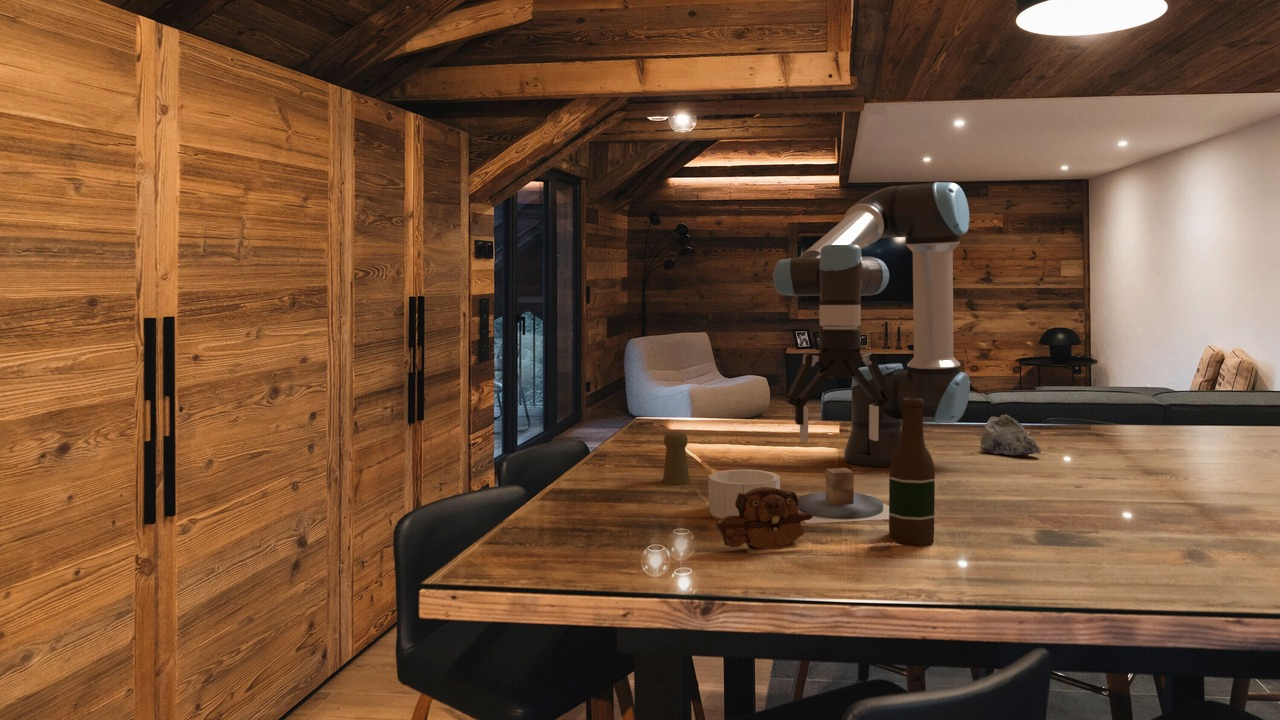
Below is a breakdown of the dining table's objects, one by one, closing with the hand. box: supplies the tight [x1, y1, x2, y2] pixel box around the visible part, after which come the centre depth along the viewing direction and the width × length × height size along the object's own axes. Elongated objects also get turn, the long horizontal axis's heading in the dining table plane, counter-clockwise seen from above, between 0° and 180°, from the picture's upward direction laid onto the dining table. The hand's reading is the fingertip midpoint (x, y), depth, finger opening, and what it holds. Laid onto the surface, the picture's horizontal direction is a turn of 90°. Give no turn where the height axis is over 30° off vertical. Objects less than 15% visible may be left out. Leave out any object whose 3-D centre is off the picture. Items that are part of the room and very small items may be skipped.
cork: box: [662, 431, 691, 486], centre depth 201 cm, size 6×6×11 cm
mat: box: [798, 493, 889, 525], centre depth 175 cm, size 19×19×1 cm
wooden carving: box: [716, 487, 813, 549], centre depth 151 cm, size 16×5×10 cm, turn 110°
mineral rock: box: [979, 414, 1042, 457], centre depth 225 cm, size 13×11×10 cm
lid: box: [797, 467, 884, 519], centre depth 174 cm, size 16×16×7 cm
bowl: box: [707, 468, 781, 521], centre depth 174 cm, size 13×13×7 cm
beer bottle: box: [888, 397, 936, 547], centre depth 154 cm, size 8×8×24 cm
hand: (838, 441), depth 173 cm, fingers open, 13 cm apart
